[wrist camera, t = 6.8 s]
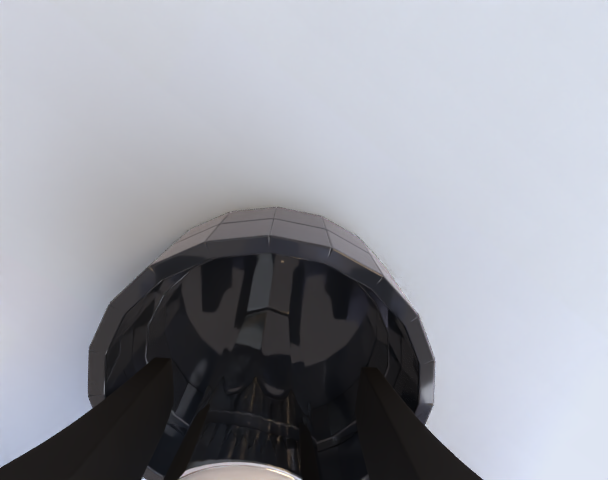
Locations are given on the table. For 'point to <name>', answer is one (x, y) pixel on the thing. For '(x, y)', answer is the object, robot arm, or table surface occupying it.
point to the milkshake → (253, 410)
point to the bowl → (278, 298)
